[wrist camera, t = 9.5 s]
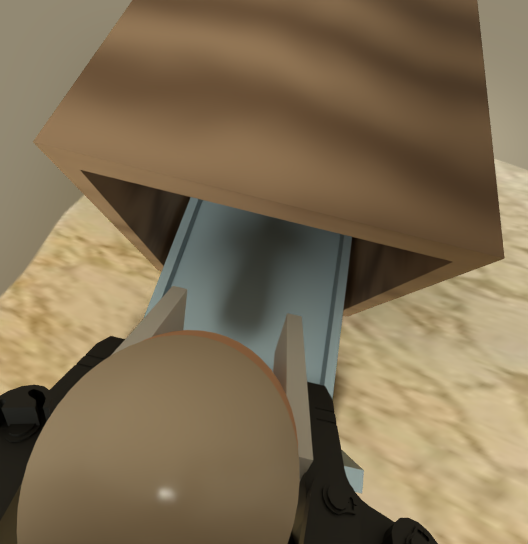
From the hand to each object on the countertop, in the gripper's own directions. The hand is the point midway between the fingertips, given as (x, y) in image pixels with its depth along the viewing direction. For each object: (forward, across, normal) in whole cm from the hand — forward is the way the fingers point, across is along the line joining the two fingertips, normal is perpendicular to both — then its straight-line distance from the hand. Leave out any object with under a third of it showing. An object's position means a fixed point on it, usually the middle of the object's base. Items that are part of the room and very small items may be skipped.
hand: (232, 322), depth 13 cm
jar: (0, 0, -5) cm, 5 cm away
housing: (+19, +1, +3) cm, 20 cm away
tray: (+10, +1, -6) cm, 12 cm away
